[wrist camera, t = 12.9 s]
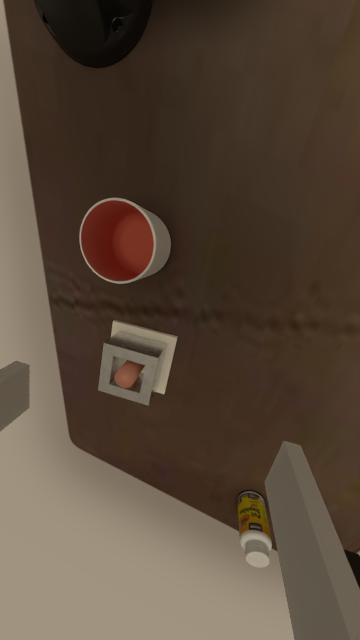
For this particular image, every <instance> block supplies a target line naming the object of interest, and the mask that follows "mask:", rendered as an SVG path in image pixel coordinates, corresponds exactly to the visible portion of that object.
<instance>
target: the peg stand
mask: <svg viewBox="0 0 360 640" xmlns="http://www.w3.org/2000/svg"><path fill="white" fill-rule="evenodd" d="M118 331H124V332H127V333H131V334H135V335H138V336H142V337H146V338H149V339H153V340H156V341H160V342H164V343H167V346H166V351H165V355H164V360H163V364H162V369H161V373H160V378H159V383H158V386H157V388H156V391H155V392H158V393H161V394H164V393H165V390H166V386H167V381H168V377H169V373H170V368H171V364H172V360H173V355H174V351H175V347H176V342H177V338H178V336H174V335H171V334H167V333H163V332H159V331H156V330H152V329H148V328H144V327H141V326H137V325H133V324H129V323H126V322H122V321H118V320H114V321H113V325H112V333H111V337H112V336H113V335H114V334H116V333H117V332H118ZM144 370H145V365H143V364H139V363H136V362H133V361H129V360H126V359H125V362H124V364H123V365H122V366H121V368H120V369H119V370H118V371H117V372H116V374H115V377H114V378H115V382H116V383H117V384H118V385H119V386H120V387H122V388H129V387H131V386H132V385H133V383H134V382H135V380H136V379H137V377H138V376H139V374H140V373H141V372H142V373H144Z"/></svg>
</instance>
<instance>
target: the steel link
mask: <svg viewBox="0 0 360 640" xmlns="http://www.w3.org/2000/svg"><path fill="white" fill-rule="evenodd" d="M166 346H167V343H164V342H160V341H156V340H153V339H149V338H146V337H142V336H138V335H135V334H131V333H127V332H124V331H118V332H117V333H116V334H114V335H113V336H112V337H111V338H109V339H108V340H107V341H106V342H104V346H103V354H102V363H101V371H100V379H99V387H98V390H99V391H102V392H105V393H109V394H112V395H115V396H119V397H122V398H125V399H129V400H132V401H135V402H138V403H142V404H145V405H148V406H149V404H150V401H151V399H152V397H153V395H154V393H155V391H156V388H157V386H158V383H159V378H160V373H161V369H162V364H163V360H164V355H165V351H166ZM125 359H126V360H129V361H133V362H136V363H139V364H143V365H145V370H144V373H142V372H141V373H140V374H139V376H138V377H137V379H136V380H135V382H134V383H133V385H132V386H131V387H129V388H122V387H120V386H119V385H118V384H117V383H116V382H115V378H114V377H115V374H116V372H117V371H118V370H119V369H120V368H121V366H122V365H123V364H124V362H125Z"/></svg>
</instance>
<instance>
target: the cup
mask: <svg viewBox="0 0 360 640" xmlns="http://www.w3.org/2000/svg"><path fill="white" fill-rule="evenodd" d="M79 240H80V248H81V251H82V254H83V257H84V259H85V261H86V263H87V264H88V266H89V267H90V268H91V269H92V271H93V272H94V273H96V274H97V275H98V276H99V277H101V278H103V279H104V280H106V281H109V282H112V283H118V284H124V283H130V282H133V281H136V280H139V279H141V278H144V277H147V276H150V275H152V274H155V273H156V272H158V271H159V270H160V269H161V268H162V267H163V266H164V265H165V263H166V262H167V260H168V258H169V255H170V250H171V240H170V235H169V232H168V229H167V228H166V226H165V224H164V223H163V222H162V220H161V219H160V218H159V217H157V216H156V215H155V214H153V213H151V212H149V211H147V210H146V209H144V208H142V207H140V206H138V205H137V204H135V203H133V202H131V201H129V200H126V199H122V198H108V199H104V200H102V201H100V202H98V203H96V204H95V205H93V206H92V207H91V208H90V209H89V211H88V212H87V213H86V215H85V217H84V219H83V221H82V224H81V227H80V235H79Z"/></svg>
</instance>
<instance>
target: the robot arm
mask: <svg viewBox="0 0 360 640" xmlns="http://www.w3.org/2000/svg"><path fill="white" fill-rule="evenodd" d="M34 2H35V5H36V8H37V10H38V12H39V15H40V17H41V19H42V21H43V23H44V24H45V26H46V28H47V29H48V31H49V32H50V34H51V35H52V36H53V38H54V39H55V40H56V42H57V43H58V44H59V45H60V47H61V48H62V49H63V50H64V51H65V53H66V54H68V55H69V56H70V57H71V58H72V59H74V60H75V61H77V62H79V63H81V64H83V65H86V66H91V67H103V66H107V65H110V64H113V63H115V62H117V61H118V60H120V59H121V58H123V57H124V56H125V55H126V54H127V53H128V52H129V51H130V50H131V49H132V48H133V47H134V46H135V44H136V43H137V41H138V40H139V38H140V36H141V34H142V32H143V30H144V28H145V26H146V23H147V20H148V17H149V14H150V10H151V5H152V0H34ZM28 408H29V365H28V364H25V363H21V362H18V361H15V362H13V363H12V364H10V365H8V366H6V367H4V368H2V369H1V370H0V431H1V430H3V429H4V428H5V427H6V426H8V425H9V424H10V423H11V422H12V421H14V420H15V419H16V418H17V417H19V416H20V415H21V414H22V413H23V412H25V411H26V410H27V409H28ZM265 488H266V493H267V498H268V503H269V508H270V514H271V519H272V524H273V529H274V534H275V540H276V545H277V550H278V555H279V561H280V566H281V571H282V576H283V581H284V587H285V591H286V597H287V602H288V607H289V612H290V618H291V623H292V628H293V634H294V639H295V640H360V556H359V555H358V554H356V553H353V552H350V551H347V550H344V549H343V548H342V545H341V543H340V540H339V538H338V535H337V533H336V531H335V528H334V526H333V523H332V521H331V518H330V516H329V514H328V511H327V509H326V506H325V504H324V501H323V499H322V497H321V494H320V492H319V489H318V487H317V485H316V482H315V480H314V477H313V475H312V472H311V470H310V468H309V465H308V463H307V460H306V458H305V455H304V453H303V451H302V448H301V446H300V445H297V444H293V443H290V442H287V441H283V443H282V446H281V448H280V450H279V452H278V454H277V456H276V459H275V461H274V463H273V465H272V467H271V469H270V471H269V474H268V476H267V478H266V480H265Z"/></svg>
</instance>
